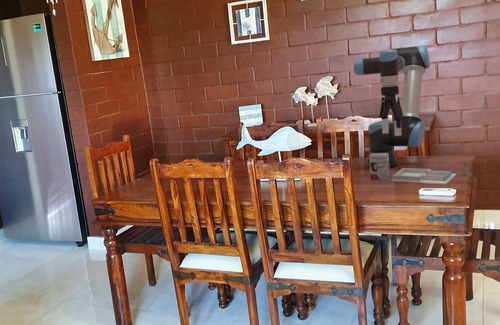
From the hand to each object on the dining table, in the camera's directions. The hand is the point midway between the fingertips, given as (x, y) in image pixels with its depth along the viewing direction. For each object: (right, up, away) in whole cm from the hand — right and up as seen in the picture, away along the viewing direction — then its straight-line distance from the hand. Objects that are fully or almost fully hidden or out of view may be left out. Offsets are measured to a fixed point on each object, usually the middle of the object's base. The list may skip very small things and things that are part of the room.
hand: (391, 134), depth 225 cm
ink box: (-2, -20, +13) cm, 24 cm away
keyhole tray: (+16, -20, +5) cm, 26 cm away
